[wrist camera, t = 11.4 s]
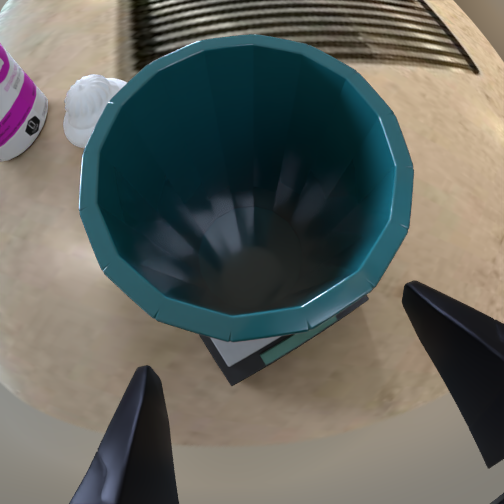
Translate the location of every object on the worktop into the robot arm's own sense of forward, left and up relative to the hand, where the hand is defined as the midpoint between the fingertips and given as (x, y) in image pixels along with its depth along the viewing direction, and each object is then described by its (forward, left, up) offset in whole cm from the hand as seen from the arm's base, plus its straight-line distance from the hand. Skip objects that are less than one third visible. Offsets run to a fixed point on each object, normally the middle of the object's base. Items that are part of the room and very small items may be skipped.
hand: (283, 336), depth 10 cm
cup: (+4, -1, -8) cm, 9 cm away
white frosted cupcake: (+19, +3, -11) cm, 22 cm away
